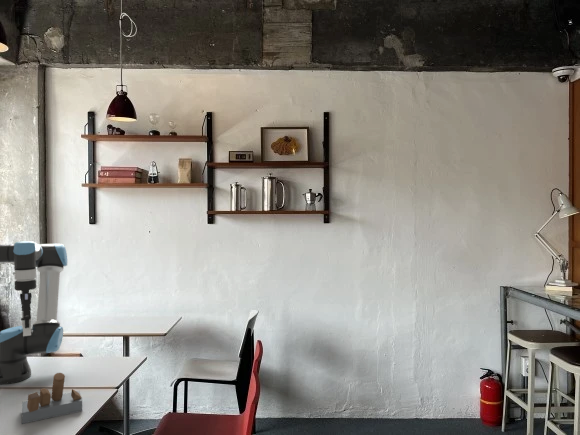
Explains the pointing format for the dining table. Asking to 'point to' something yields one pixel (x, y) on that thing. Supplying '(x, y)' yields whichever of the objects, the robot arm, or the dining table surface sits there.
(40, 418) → the grey rectangular slab
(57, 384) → the wooden block set
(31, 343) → the robot arm
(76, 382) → the dining table surface
